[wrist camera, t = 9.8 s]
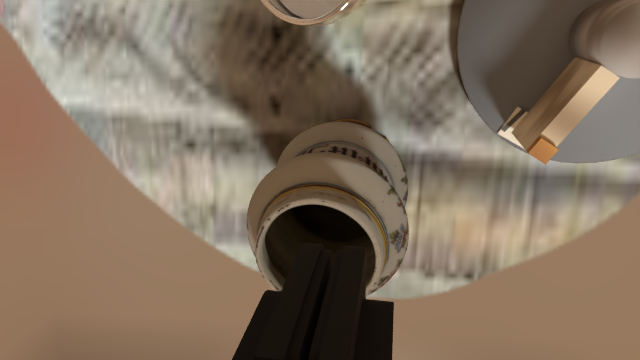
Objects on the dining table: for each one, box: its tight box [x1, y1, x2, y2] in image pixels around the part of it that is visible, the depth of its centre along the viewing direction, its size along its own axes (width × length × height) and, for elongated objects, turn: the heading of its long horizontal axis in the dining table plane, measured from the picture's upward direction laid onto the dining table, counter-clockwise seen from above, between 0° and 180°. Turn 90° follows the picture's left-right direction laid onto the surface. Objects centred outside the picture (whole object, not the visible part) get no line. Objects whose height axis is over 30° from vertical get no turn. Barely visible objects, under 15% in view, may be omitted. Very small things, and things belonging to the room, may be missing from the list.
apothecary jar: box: [247, 119, 409, 296], centre depth 36 cm, size 12×12×18 cm
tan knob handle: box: [511, 0, 640, 164], centre depth 33 cm, size 12×5×6 cm, turn 149°
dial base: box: [457, 0, 640, 163], centre depth 35 cm, size 22×22×2 cm
